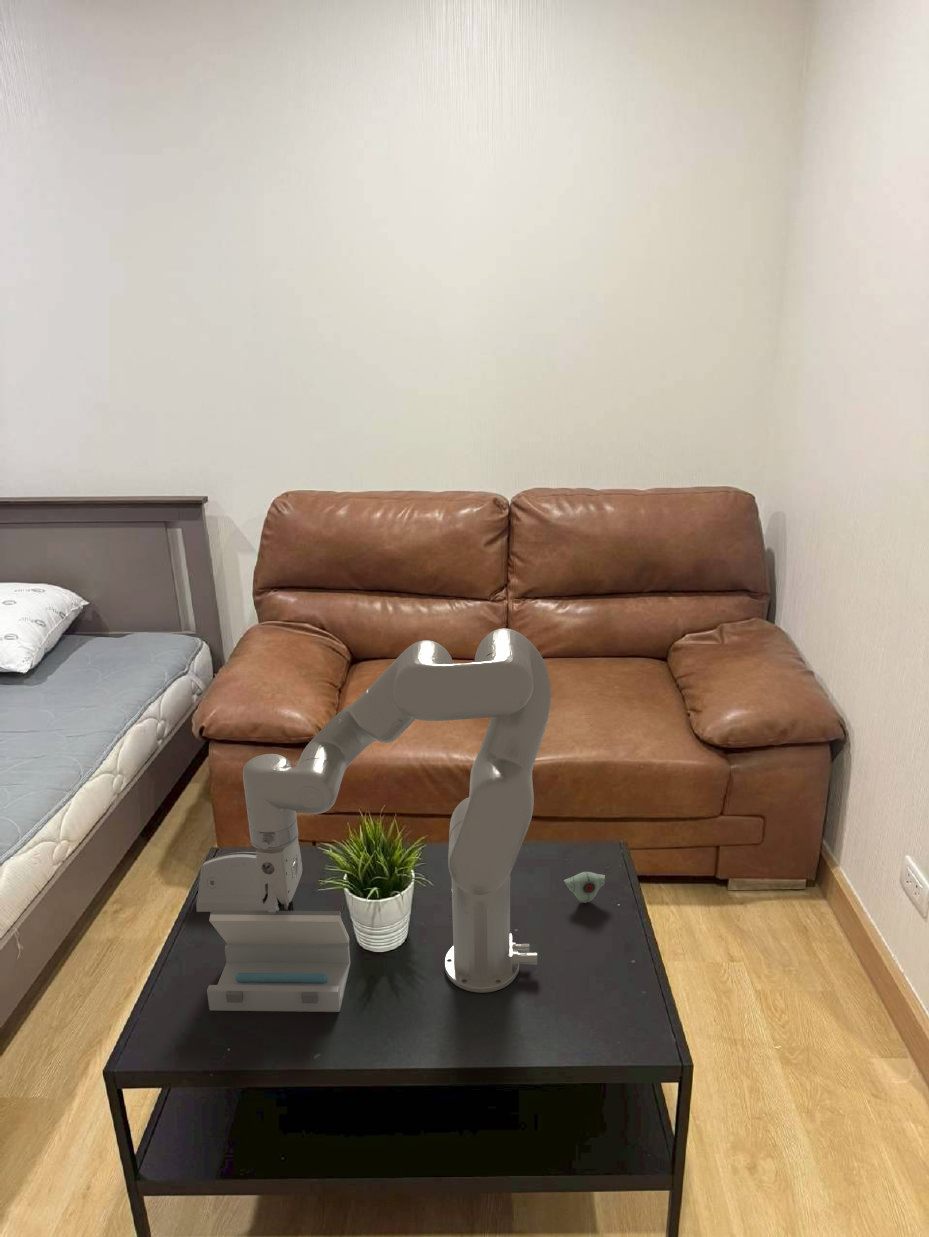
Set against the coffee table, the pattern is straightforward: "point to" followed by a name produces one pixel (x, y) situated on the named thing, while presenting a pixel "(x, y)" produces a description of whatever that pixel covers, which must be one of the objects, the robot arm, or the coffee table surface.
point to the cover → (280, 926)
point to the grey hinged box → (281, 994)
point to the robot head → (585, 885)
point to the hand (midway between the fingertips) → (284, 923)
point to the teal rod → (281, 977)
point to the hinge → (230, 884)
